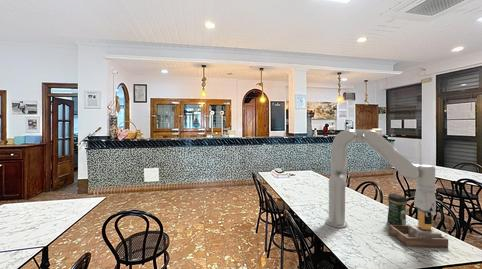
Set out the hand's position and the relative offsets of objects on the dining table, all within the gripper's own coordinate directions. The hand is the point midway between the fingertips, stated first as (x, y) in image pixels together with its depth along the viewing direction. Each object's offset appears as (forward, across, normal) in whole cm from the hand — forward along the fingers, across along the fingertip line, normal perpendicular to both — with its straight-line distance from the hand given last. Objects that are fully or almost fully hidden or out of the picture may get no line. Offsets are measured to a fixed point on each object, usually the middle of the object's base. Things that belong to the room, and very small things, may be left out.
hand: (424, 221), depth 124 cm
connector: (+3, 0, 0) cm, 3 cm away
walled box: (+10, 0, -4) cm, 11 cm away
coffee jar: (+10, -21, -2) cm, 23 cm away
